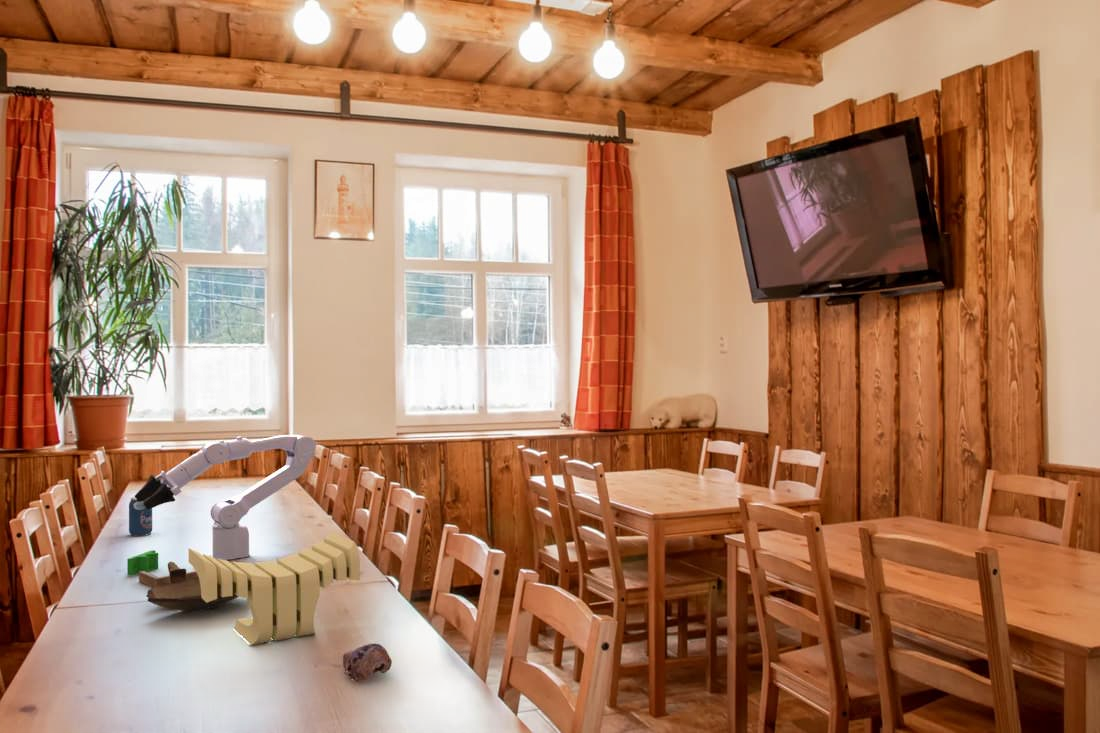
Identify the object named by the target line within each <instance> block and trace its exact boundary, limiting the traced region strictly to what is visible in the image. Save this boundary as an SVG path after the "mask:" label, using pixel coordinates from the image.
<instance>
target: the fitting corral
mask: <svg viewBox="0 0 1100 733" xmlns="http://www.w3.org/2000/svg"><path fill="white" fill-rule="evenodd" d="M186 579H187V580H188V581H194V580H199V577H198V574H197V572H196V570H193V571H186ZM138 582H139V583H141V582H142V584H143V583H144V585H146V586H148V587H150V586H151V587H150V588H152V589H153V588H156V587H160V586H165V585H168V584H171V580H170V575H165V576H158V575H155V574H152V573H150V572H149V573H148V572H145V571H141V572H139V573H138Z"/></svg>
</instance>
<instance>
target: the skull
mask: <svg viewBox="0 0 1100 733" xmlns="http://www.w3.org/2000/svg"><path fill="white" fill-rule="evenodd" d="M392 663H393V661H392V659H391V656H390V655H389V653H388V651H387V649H386V648H385V647H384V646H383V645H382V644H380V643H376V642H375V643H374V642H373V643H368V644H364V645H362V646H360V647H358V648H356V649H355V650H350V651H348V652H345V653H344V654H343V656H342V667H343V666H344V668H345V669H344V668H343V669H344V675H346V676H348V677H350V680H351V679H353V680H355V681H354V682H357V681H356V680H359V681H360V682H361V680H362V682H364V681H363V680H366V681H367V680H368V679H369V678H370V677H371V676H373V675H375V674H376V673H378V672H380V673H381V674H385V673H387V672H388V671H390V669H391V667H392ZM353 680H352V681H353Z"/></svg>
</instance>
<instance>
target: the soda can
mask: <svg viewBox="0 0 1100 733" xmlns="http://www.w3.org/2000/svg"><path fill="white" fill-rule="evenodd" d="M147 499H148V498H147ZM147 499H145V500H143V501H141V502H138V500H137V499H136V498H135V497H132V498H130V501H129V503H128V533H129V535H146V534H149V535H151V533H152V531H153V508H151V509H148V510H147V509H146V507H145V506H144V504H143V503H144V502H145V501H146V500H147ZM146 536H147V535H146Z"/></svg>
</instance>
